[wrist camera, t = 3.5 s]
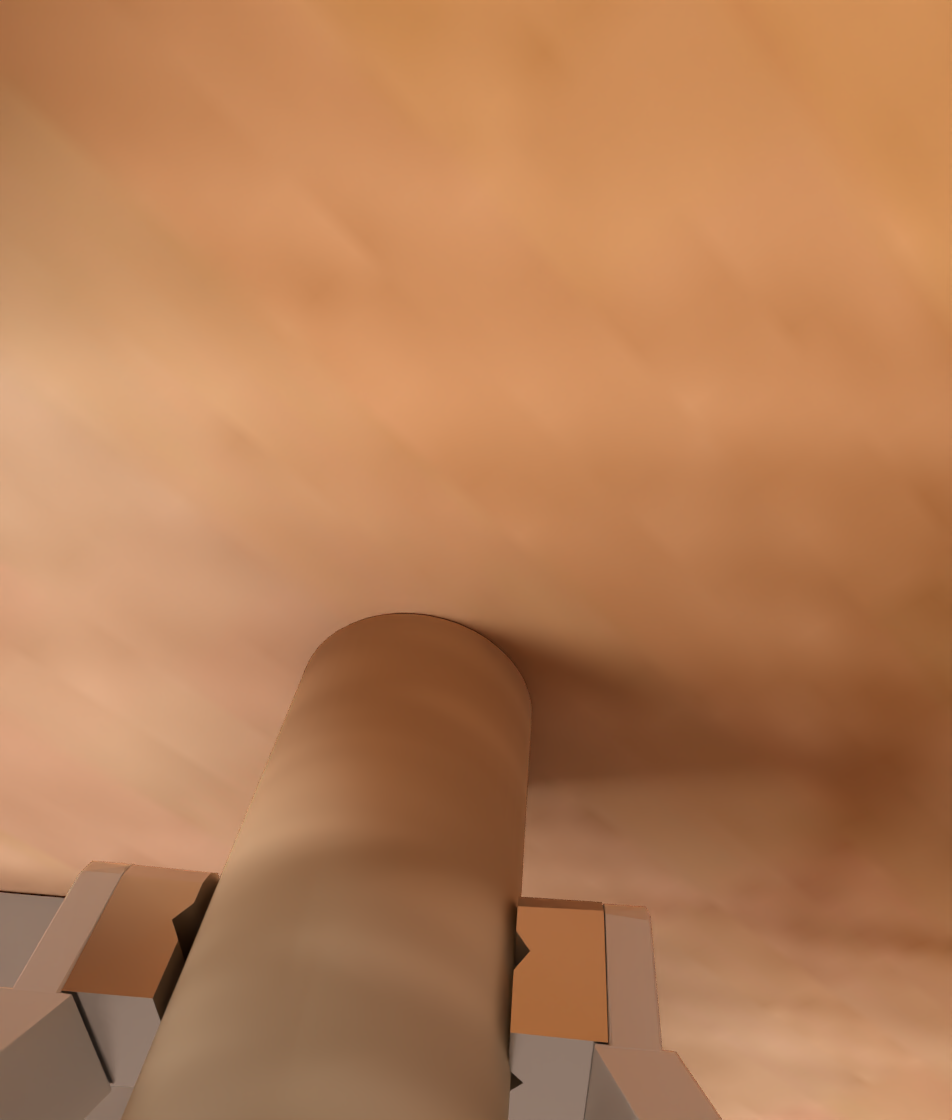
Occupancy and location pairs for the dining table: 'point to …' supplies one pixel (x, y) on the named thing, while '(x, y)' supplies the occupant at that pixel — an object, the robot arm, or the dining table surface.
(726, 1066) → the dining table surface
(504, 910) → the dowel
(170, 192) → the dining table surface
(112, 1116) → the bore block
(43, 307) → the dining table surface
